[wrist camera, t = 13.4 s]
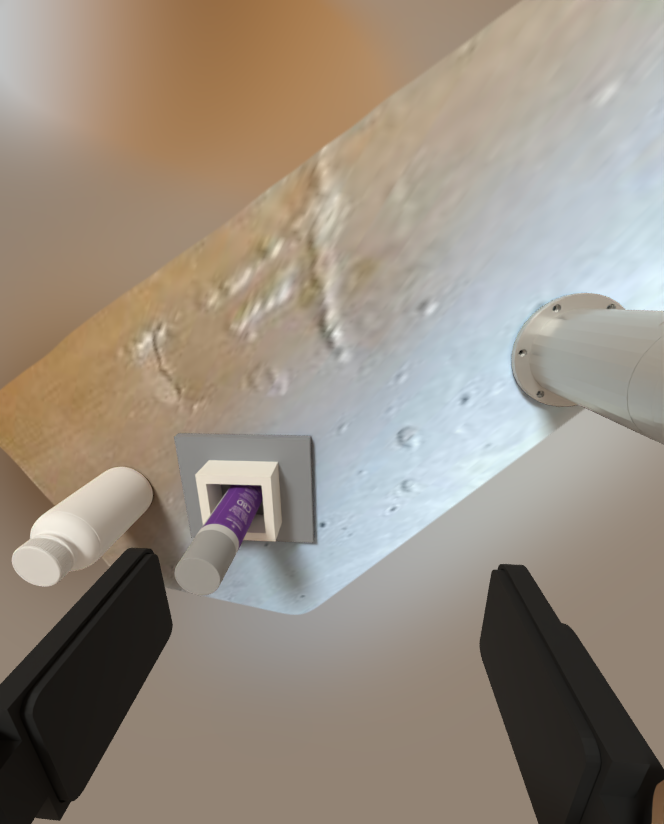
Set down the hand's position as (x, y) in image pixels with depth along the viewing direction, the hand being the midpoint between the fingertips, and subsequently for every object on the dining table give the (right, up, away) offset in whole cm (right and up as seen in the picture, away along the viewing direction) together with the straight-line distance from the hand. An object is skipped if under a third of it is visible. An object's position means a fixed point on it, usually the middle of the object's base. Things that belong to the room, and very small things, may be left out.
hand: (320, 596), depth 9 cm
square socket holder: (-11, -5, +38) cm, 40 cm away
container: (-11, -6, +37) cm, 39 cm away
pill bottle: (-29, -6, +40) cm, 50 cm away
